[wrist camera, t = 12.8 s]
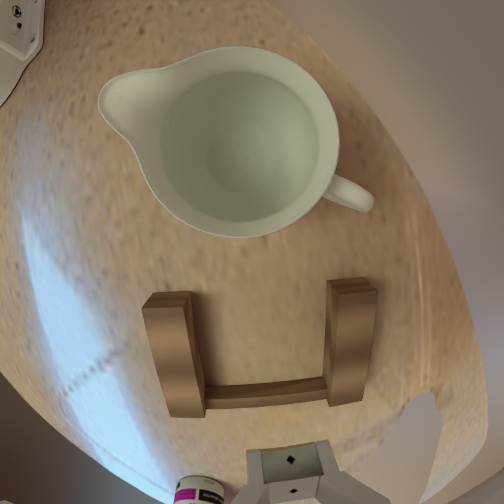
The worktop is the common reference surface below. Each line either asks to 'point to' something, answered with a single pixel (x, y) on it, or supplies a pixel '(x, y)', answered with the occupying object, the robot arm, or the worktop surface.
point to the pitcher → (232, 140)
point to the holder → (266, 394)
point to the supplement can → (198, 491)
